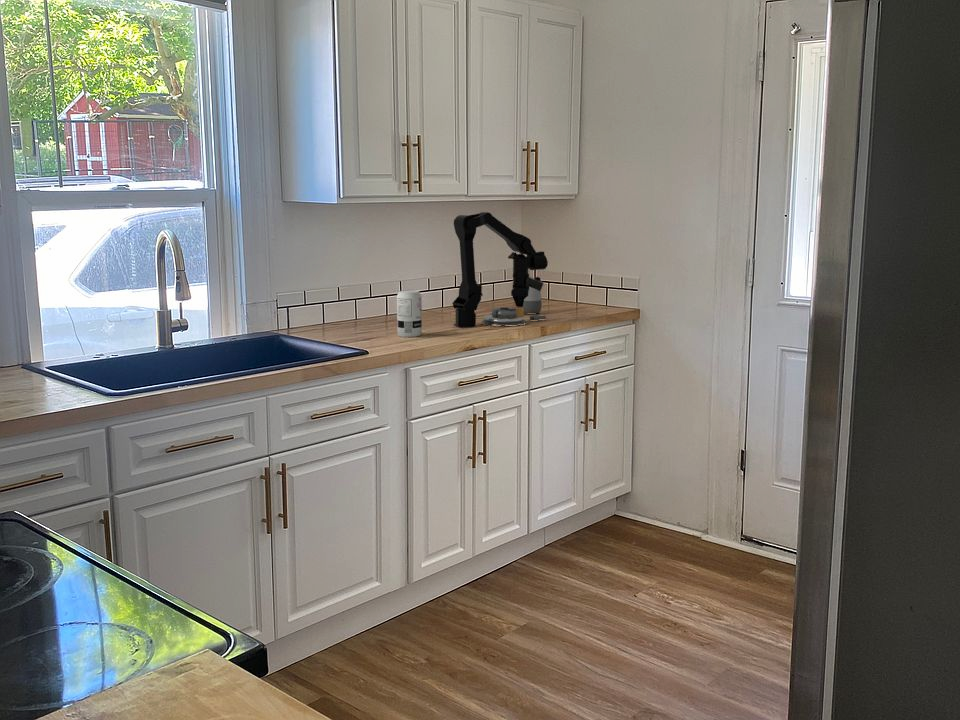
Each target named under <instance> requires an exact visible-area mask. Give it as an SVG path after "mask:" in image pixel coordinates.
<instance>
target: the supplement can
mask: <svg viewBox="0 0 960 720" xmlns="http://www.w3.org/2000/svg"><path fill="white" fill-rule="evenodd" d="M420 292H421V291H420V290H399V291H398V293H397V295H396V324H397V325H396V326H397V327H396V331H397V333H396V334H397V335H398V336H399V337H401V338H417V336H418V337H420V336H421V335H422V332H423V331H422V329H423V327H422V325H423V323H422V322H423V321H422V319H423V317H422V316H423V315H422V294H421V293H420Z"/></svg>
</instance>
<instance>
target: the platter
mask: <svg viewBox="0 0 960 720" xmlns="http://www.w3.org/2000/svg"><path fill="white" fill-rule="evenodd" d="M516 309H517V315H516V318H511V319H510V318H508V319H499V318H493V317H492V314H487V315H484V316H483V320H484V321H487V322H493V323H517V322H523V321H524V320H525V316H524V315H525V314H524V307H522V306H520V307H516Z"/></svg>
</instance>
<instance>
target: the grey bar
mask: <svg viewBox="0 0 960 720" xmlns="http://www.w3.org/2000/svg"><path fill="white" fill-rule="evenodd" d="M546 317H547V316H546V315H545V314H536V315H529V321H530V320H539V319H546V320H547V318H546Z"/></svg>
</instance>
